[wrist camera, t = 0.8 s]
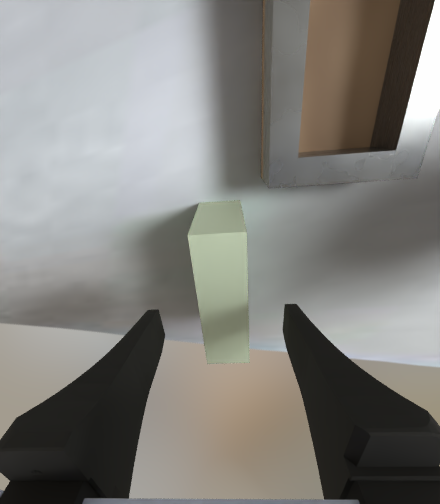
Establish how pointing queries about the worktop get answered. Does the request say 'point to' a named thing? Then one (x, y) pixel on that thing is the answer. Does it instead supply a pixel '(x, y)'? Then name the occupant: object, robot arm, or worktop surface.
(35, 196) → the worktop surface
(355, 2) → the frame
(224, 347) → the door panel
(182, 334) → the worktop surface
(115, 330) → the worktop surface
